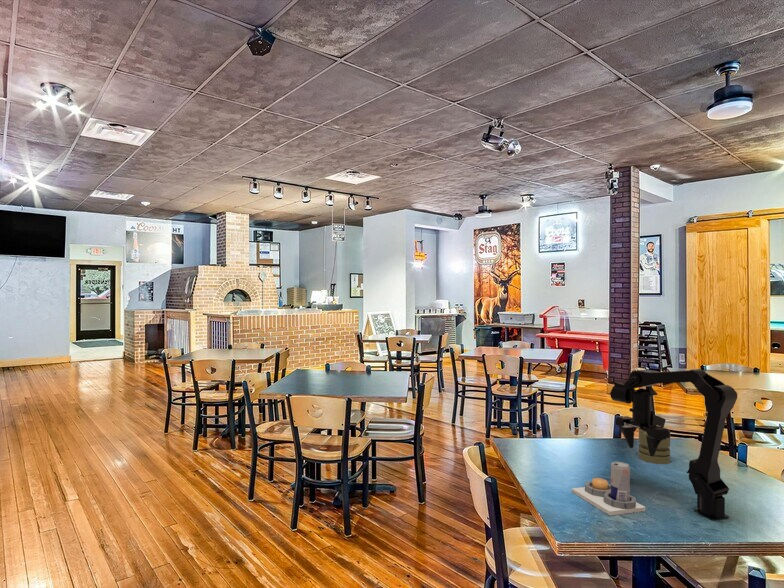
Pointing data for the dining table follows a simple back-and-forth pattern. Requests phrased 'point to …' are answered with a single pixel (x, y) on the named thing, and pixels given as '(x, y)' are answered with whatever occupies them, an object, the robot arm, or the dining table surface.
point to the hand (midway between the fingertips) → (641, 451)
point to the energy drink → (620, 481)
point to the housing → (606, 498)
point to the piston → (661, 453)
